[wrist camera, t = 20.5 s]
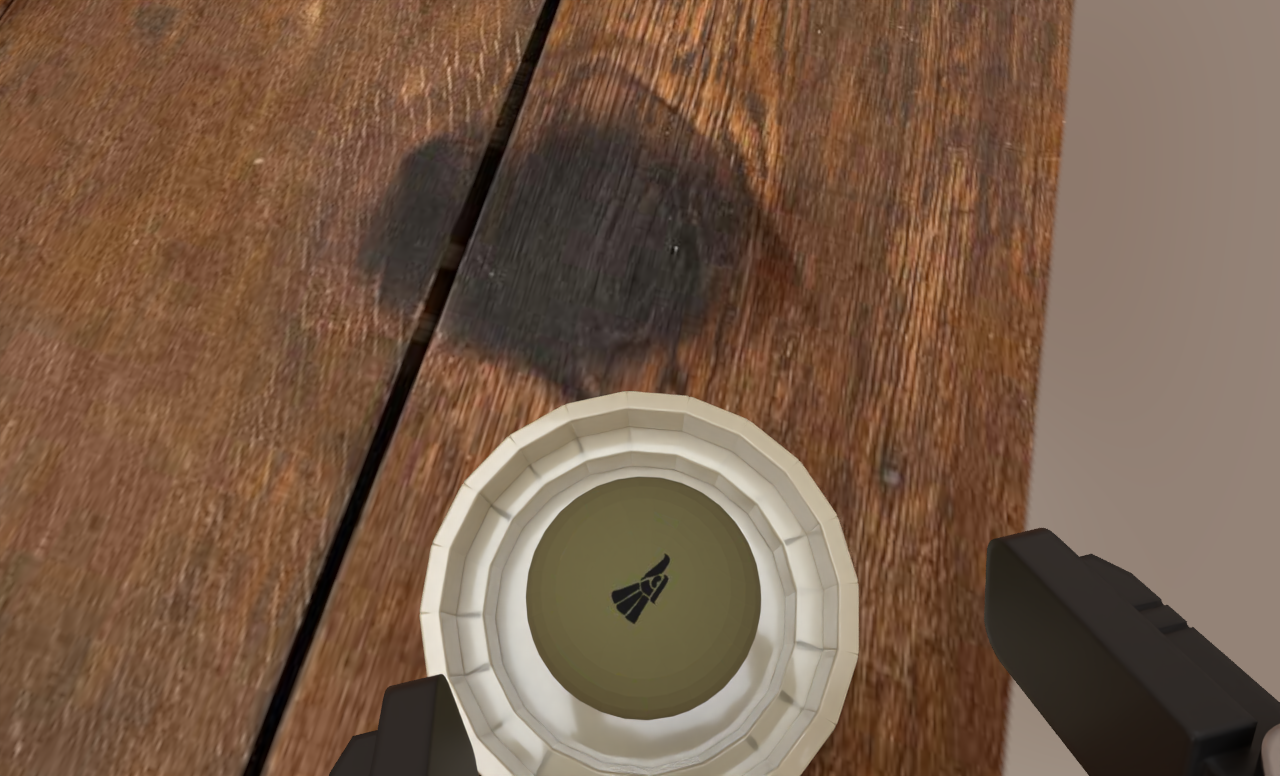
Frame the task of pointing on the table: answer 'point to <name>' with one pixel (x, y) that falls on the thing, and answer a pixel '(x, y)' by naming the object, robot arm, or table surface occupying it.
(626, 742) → the bowl
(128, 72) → the table surface
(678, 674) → the light bulb
